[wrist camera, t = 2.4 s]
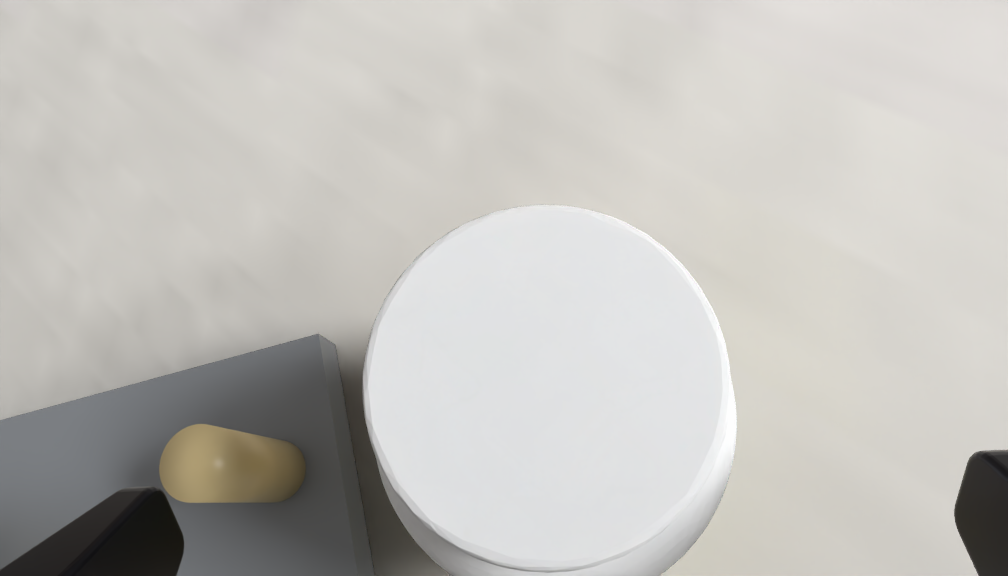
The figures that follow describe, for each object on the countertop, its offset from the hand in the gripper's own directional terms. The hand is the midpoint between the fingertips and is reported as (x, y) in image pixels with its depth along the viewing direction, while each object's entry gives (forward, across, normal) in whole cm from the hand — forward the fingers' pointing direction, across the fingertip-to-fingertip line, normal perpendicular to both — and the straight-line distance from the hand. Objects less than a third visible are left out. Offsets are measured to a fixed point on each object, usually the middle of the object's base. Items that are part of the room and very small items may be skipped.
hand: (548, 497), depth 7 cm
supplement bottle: (+7, 0, +6) cm, 9 cm away
